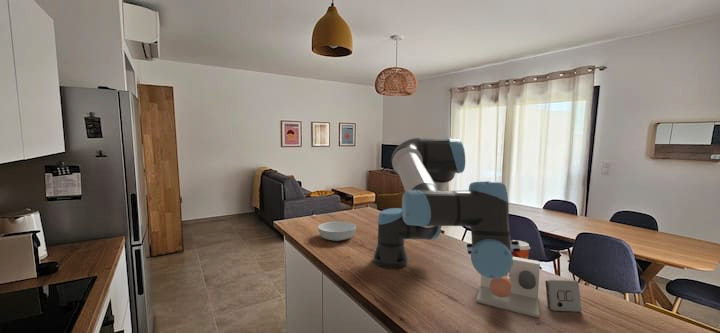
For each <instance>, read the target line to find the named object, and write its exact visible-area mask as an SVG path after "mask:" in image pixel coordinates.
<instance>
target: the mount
mask: <svg viewBox="0 0 720 333" xmlns="http://www.w3.org/2000/svg"><path fill="white" fill-rule="evenodd" d="M540 263H541V261H539V260H536V259H535V260H534V259H529V258H528V259H524V258H518V257H513V266H512V267H511V270H510V276H507V277H508V278H509V279H510V281H511V292H510V294H509V295H508V296H507V297H503V298H502V297H498V296H496V295H494V294H493V293H492V292H491V290H490V282H491V279H490V278H486V277H484V276H482V275H481V274H480V285H479V286H480V287H479V289H478V291H477V292H478V293H477V297H476V301H475V302H476V303H480V304H483V305H487V306H491V307H495V308H499V309H503V310H507V311H511V312H514V313H519V314H523V315H527V316H530V317H534V318H538V319H540V318H539V317H540V311H539V286H540V284H539V283H540V282H539V281H540V269H541V268H540V267H541V264H540Z"/></svg>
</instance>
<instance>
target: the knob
mask: <svg viewBox="0 0 720 333" xmlns="http://www.w3.org/2000/svg"><path fill="white" fill-rule="evenodd" d="M508 277H509V276H508V274H507V275H505V276H504V277H502V278H499V279H491V282H490V290H491V292H492V293H493V294H494V295H496V296H498V297H502V298H503V297H507V296H508V295H509V294H510V292H511V281H510V279H509V278H508Z"/></svg>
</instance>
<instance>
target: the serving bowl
mask: <svg viewBox="0 0 720 333" xmlns="http://www.w3.org/2000/svg"><path fill="white" fill-rule="evenodd" d="M356 229H357V226H356V225H355V224H354V223H353V222H352V223H351V222H347V221H327V222H324V223H321V224H319V225H318V226H317V231H318V234H319V235H320V236H321V238H323V239H324V240H325V239H326V240H329V241H334V242H339V241H344V240H348V239H350V238H351V237H353V236H354V234H355V233H356Z"/></svg>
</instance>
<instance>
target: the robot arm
mask: <svg viewBox="0 0 720 333" xmlns="http://www.w3.org/2000/svg"><path fill="white" fill-rule="evenodd" d="M391 164H392V165H391V166H392V168H393V170H394V172H395V174H397V175H398V176H399V177H400V180H401V182H402V183H401V184H402V186H403V188H404V192H403V194H402V197H401V198H402V199H401V207H399V208H398V207H395V208H394V207H391V208H387V209H383V210H381V211H380V212H379V213H378V217H377V218H378V219H377V245H376V247H375V251H374V254H373V263H374V264H375V265H376V266H379V267H382V268H385V269H399V268H403V267H405V266H407V265H408V263H409V262H408V261H409V259H408V257H409V256H408V253H407V251H406V247H405V240H428V241H429V240H435V239H437V238H439V236H440V235H441V232H442V227H470V232H471V233H470V234H471V243H467V244H466V248H467V250H466V251H467V254H469V255H470V260H471V264H472V266H473V267H474V270H476V272H477V273H478V274H479V275H480V276H481V275H482V276H484V277H486V278H490V279H499V278H502V277H504V276H505V275H507V276H508V275H509V271H510V270H511V267H512V266H513V256H512V254H511V251H516V252H519V251H520V247H519V242H518V241H519V240H518V241H512V240H513V239H512V240H511V234H510V217H509V216H510V212H509V210H510V208H509V205H510V202H509V196H508V192H507V186H506V184H505V183H503V182H501V181H497V180H496V181H495V180H494V181H492V180H491V181H490V180H489V181H488V180H487V181H473V182H471V183H470V184H469V187H468V189H467V190H446V188H447V185H448V183H449V182H452V181H453V179H454V178H455V176H456V174H461V173H462V174H463V172H465V168H466V152H465V147H464V144H463V142H462V141H461V140H460V139H459V138H450V137H447V138H445V137H444V138H443V137H441V138H439V137H438V138H434V137H433V138H432V137H431V138H428V137H423V138H422V137H415V138H411V139H410V138H409V139H407V140H404V141H403V142H402V143H400V144H399V145H397V147H396V148H395V149H394V151H393V153H392V155H391Z"/></svg>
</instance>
